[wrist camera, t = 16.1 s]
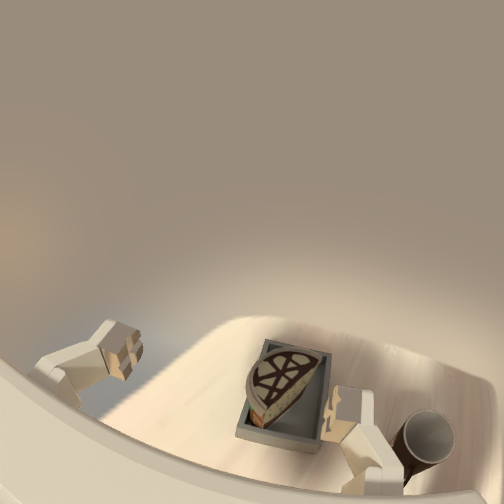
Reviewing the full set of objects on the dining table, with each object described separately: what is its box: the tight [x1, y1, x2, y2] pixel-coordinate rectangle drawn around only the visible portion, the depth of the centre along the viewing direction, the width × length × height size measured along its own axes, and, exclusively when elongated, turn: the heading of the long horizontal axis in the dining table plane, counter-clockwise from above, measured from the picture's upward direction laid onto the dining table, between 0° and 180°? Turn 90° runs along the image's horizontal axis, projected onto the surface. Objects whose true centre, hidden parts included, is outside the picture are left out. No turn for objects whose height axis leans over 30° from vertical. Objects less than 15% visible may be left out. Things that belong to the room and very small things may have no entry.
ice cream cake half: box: [246, 347, 322, 430], centre depth 39 cm, size 12×6×10 cm, turn 136°
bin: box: [235, 339, 332, 454], centre depth 43 cm, size 12×18×4 cm, turn 165°
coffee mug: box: [389, 409, 456, 488], centre depth 30 cm, size 12×9×10 cm
